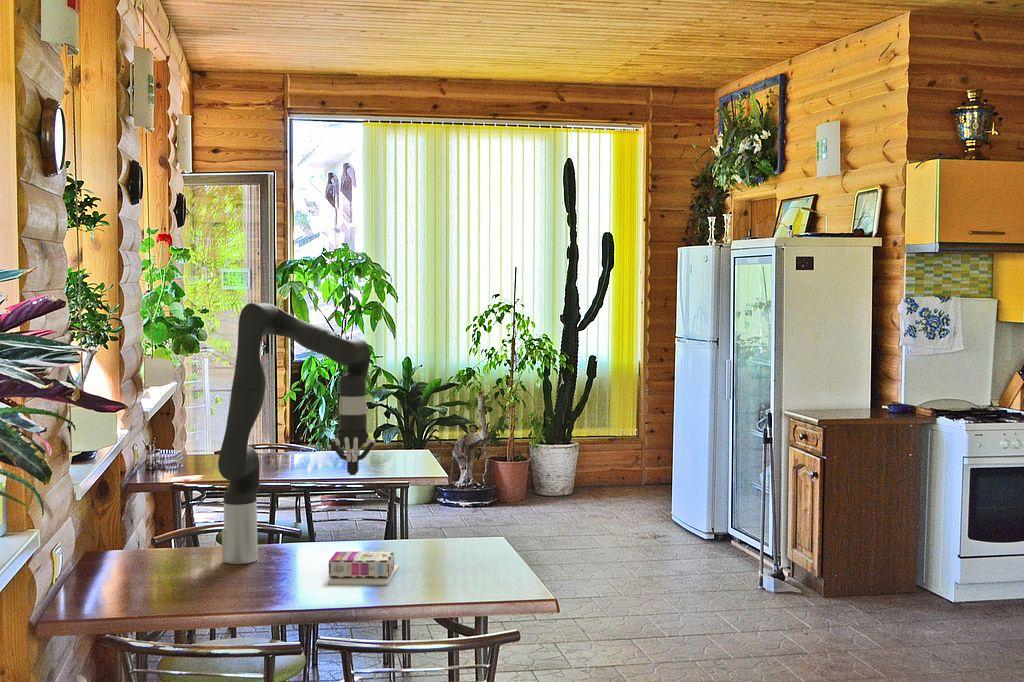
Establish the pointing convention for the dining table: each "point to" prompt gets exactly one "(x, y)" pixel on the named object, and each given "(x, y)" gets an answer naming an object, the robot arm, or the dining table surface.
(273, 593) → the dining table surface
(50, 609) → the dining table surface
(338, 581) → the mat
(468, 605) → the dining table surface
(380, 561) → the candy bar box
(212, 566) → the dining table surface
